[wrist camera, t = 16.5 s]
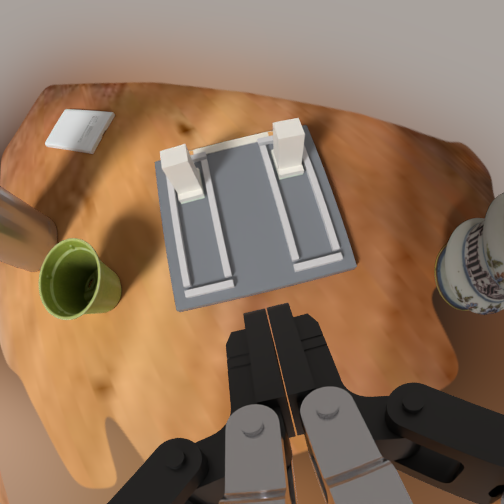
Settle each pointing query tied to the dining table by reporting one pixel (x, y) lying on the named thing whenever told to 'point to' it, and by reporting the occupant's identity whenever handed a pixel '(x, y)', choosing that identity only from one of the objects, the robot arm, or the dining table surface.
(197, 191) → the tab
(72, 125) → the external hard drive
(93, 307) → the plant pot
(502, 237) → the apothecary jar
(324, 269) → the switch board
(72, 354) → the dining table surface
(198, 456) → the robot arm
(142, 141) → the dining table surface
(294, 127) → the tab
